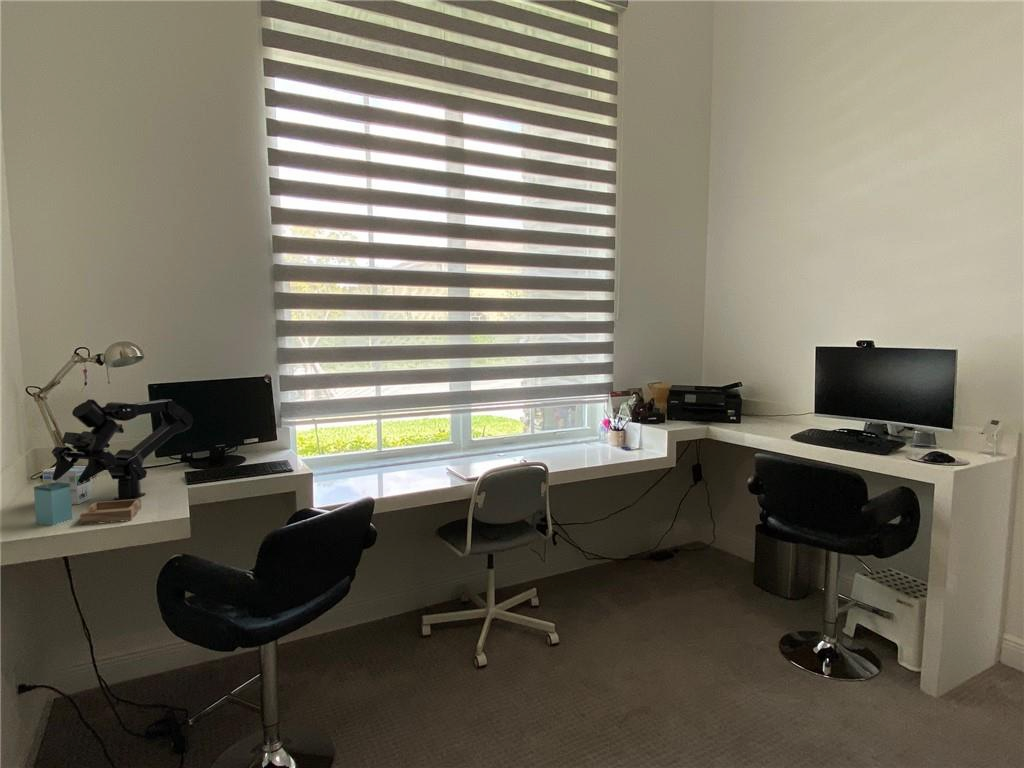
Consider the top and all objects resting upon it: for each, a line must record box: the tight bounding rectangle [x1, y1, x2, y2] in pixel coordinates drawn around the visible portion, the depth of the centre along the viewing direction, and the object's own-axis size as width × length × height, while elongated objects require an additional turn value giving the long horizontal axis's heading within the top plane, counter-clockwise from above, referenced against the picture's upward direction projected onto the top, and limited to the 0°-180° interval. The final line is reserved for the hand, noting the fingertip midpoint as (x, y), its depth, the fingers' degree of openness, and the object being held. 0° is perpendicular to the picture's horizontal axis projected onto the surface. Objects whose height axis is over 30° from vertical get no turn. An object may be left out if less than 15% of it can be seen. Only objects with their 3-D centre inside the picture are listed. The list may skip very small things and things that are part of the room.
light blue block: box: [33, 480, 73, 526], centre depth 165 cm, size 6×6×12 cm
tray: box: [79, 498, 142, 525], centre depth 171 cm, size 12×12×3 cm
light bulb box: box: [41, 465, 93, 505], centre depth 184 cm, size 11×7×11 cm, turn 92°
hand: (66, 481), depth 169 cm, fingers open, 9 cm apart
